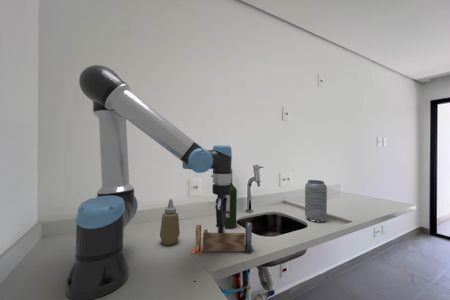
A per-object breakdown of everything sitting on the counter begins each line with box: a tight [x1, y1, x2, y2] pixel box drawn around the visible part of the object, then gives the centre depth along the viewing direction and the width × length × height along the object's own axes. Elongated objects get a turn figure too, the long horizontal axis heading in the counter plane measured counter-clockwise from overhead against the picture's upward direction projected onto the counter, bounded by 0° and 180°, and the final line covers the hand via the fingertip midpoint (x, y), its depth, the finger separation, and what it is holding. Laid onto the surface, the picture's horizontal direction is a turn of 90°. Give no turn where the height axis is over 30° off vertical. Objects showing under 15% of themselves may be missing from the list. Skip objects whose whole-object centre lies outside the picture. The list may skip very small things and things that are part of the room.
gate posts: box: [190, 221, 255, 256], centre depth 76 cm, size 24×7×11 cm, turn 92°
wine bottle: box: [224, 168, 238, 230], centre depth 102 cm, size 8×8×30 cm
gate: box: [202, 229, 245, 252], centre depth 75 cm, size 16×2×7 cm, turn 92°
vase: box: [304, 179, 328, 221], centre depth 115 cm, size 12×12×23 cm
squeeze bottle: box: [159, 199, 181, 246], centre depth 82 cm, size 8×8×18 cm
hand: (221, 242), depth 78 cm, fingers closed
